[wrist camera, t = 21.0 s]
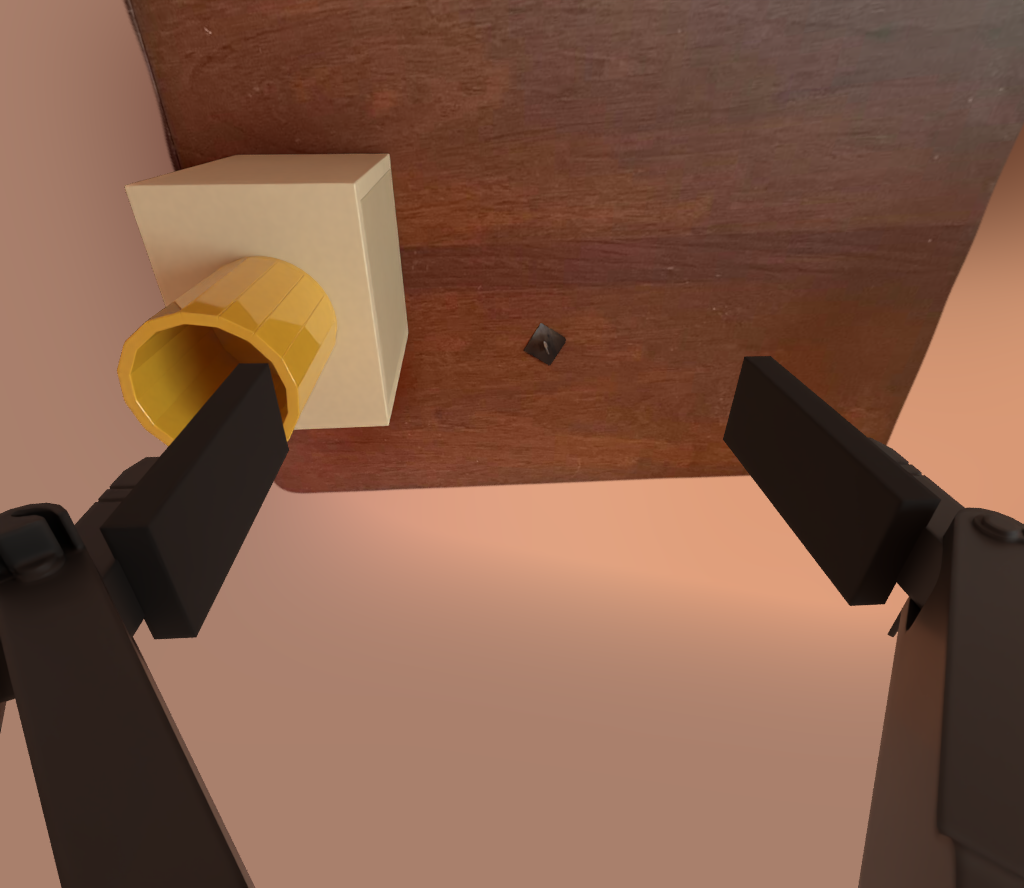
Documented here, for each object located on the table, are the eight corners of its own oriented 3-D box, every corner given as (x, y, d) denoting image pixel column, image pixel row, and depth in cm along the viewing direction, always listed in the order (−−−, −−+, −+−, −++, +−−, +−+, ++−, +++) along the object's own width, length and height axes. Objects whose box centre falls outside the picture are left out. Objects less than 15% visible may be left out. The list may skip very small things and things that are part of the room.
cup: (176, 310, 30) (80, 383, 22) (264, 227, 28) (192, 276, 20) (279, 399, 33) (226, 489, 26) (364, 330, 31) (333, 405, 24)
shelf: (236, 154, 40) (122, 185, 27) (389, 153, 41) (354, 182, 27) (279, 337, 47) (208, 433, 34) (408, 333, 48) (388, 426, 35)
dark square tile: (523, 350, 50) (523, 354, 49) (541, 322, 49) (541, 326, 48) (549, 365, 51) (550, 370, 50) (567, 339, 49) (569, 343, 48)
